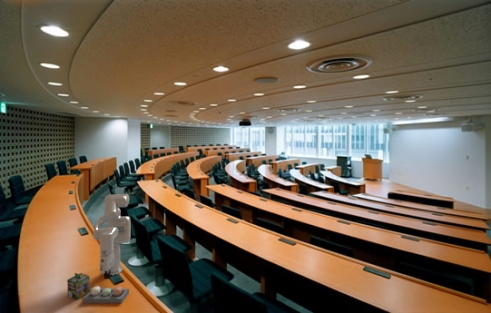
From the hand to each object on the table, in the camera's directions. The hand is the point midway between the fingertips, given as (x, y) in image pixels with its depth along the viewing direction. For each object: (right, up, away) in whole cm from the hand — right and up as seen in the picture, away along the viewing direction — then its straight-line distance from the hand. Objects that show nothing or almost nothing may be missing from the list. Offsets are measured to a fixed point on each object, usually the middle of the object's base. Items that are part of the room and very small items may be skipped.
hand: (107, 277), depth 155 cm
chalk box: (-20, -13, +3) cm, 24 cm away
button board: (0, -13, 0) cm, 13 cm away
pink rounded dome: (+7, -11, +1) cm, 13 cm away
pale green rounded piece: (0, -12, 0) cm, 12 cm away
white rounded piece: (-7, -11, 0) cm, 13 cm away
